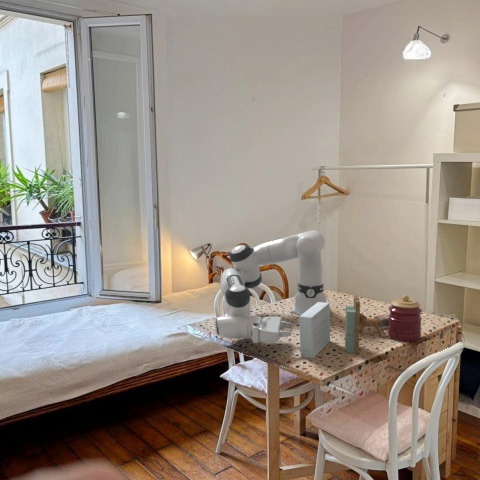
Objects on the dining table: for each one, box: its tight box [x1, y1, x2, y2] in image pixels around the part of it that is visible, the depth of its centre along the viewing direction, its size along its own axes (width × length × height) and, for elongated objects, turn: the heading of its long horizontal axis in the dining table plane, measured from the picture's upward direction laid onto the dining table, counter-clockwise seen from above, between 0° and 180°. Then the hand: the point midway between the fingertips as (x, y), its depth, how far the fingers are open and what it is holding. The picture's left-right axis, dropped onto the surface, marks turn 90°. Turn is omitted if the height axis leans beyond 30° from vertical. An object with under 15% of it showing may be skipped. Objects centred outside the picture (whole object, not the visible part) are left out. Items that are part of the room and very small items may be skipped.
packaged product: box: [373, 313, 390, 331], centre depth 223 cm, size 18×5×10 cm
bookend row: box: [344, 295, 361, 355], centre depth 193 cm, size 9×4×20 cm, turn 172°
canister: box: [387, 294, 423, 343], centre depth 206 cm, size 13×13×18 cm
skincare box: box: [298, 302, 331, 359], centre depth 195 cm, size 21×6×16 cm, turn 152°
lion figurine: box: [359, 312, 387, 337], centre depth 211 cm, size 15×5×9 cm, turn 70°
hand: (291, 329), depth 196 cm, fingers open, 8 cm apart
